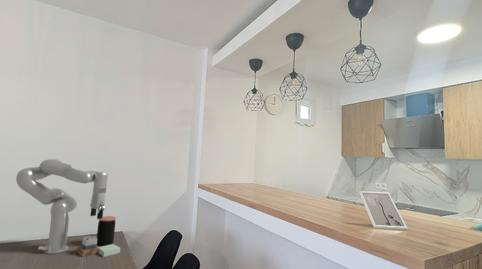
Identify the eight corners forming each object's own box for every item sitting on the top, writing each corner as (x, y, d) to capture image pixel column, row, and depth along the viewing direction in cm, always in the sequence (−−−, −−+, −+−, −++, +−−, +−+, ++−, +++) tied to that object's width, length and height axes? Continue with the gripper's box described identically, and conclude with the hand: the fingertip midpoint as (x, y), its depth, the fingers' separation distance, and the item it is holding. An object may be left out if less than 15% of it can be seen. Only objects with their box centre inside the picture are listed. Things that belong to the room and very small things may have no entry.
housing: (85, 250, 156) (86, 239, 156) (81, 247, 160) (82, 236, 161) (96, 247, 161) (97, 237, 161) (92, 245, 165) (93, 234, 165)
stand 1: (82, 256, 153) (83, 251, 153) (76, 252, 159) (77, 247, 160) (100, 252, 161) (100, 247, 161) (93, 248, 167) (94, 243, 167)
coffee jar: (110, 241, 183) (113, 215, 184) (115, 245, 175) (118, 218, 177) (93, 243, 175) (96, 217, 177) (98, 248, 168) (101, 220, 169)
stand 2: (103, 256, 155) (104, 251, 155) (97, 252, 161) (97, 247, 161) (119, 252, 162) (120, 247, 163) (113, 248, 169) (113, 243, 169)
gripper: (87, 189, 169) (84, 215, 168) (99, 192, 159) (96, 220, 157) (99, 188, 175) (96, 213, 174) (111, 192, 165) (108, 219, 163)
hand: (96, 217), depth 165 cm, fingers open, 9 cm apart
